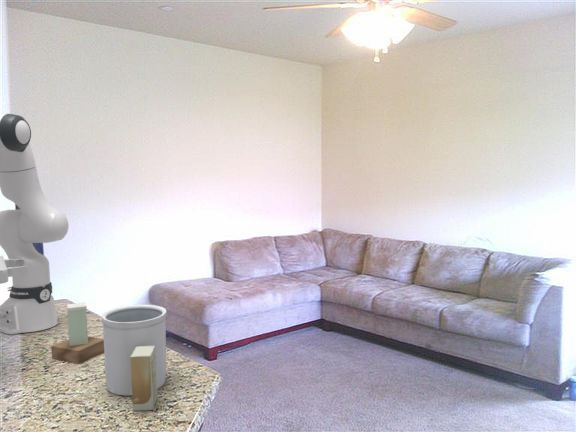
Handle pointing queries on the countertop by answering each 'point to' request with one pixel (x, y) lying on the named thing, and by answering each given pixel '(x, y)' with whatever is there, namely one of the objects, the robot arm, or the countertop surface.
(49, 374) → the countertop surface
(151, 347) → the skincare box
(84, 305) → the canister
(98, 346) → the walnut block
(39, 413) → the countertop surface
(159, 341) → the utensil holder
